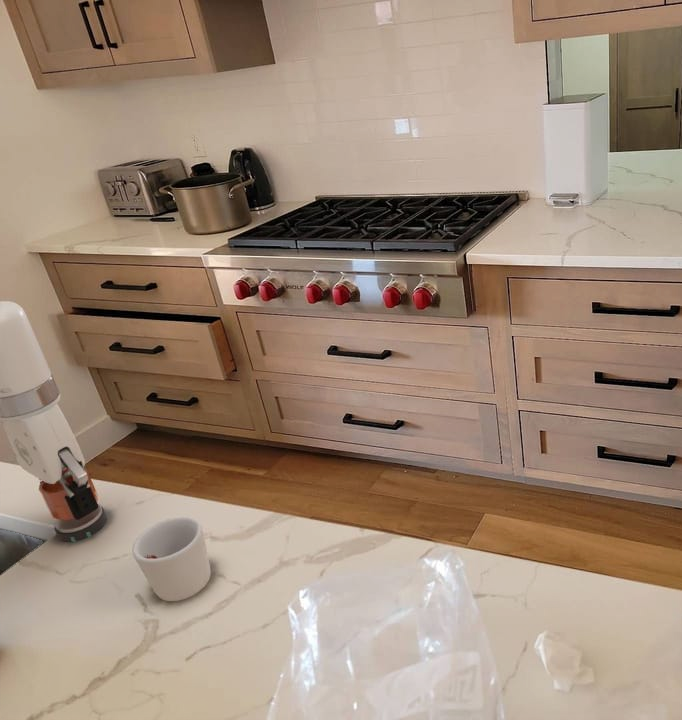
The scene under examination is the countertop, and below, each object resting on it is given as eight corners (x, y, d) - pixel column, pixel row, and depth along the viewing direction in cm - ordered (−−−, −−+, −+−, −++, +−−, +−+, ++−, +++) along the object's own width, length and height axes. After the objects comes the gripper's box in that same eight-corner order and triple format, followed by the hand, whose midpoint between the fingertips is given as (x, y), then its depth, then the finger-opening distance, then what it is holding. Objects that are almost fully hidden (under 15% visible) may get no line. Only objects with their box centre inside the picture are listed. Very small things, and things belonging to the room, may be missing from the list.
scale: (58, 552, 94) (50, 536, 93) (61, 526, 99) (54, 511, 98) (108, 536, 96) (101, 520, 95) (109, 511, 102) (103, 496, 100)
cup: (152, 563, 90) (133, 516, 87) (214, 543, 93) (198, 496, 89) (151, 620, 81) (130, 570, 78) (220, 596, 84) (203, 546, 80)
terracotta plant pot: (50, 527, 93) (36, 498, 90) (54, 504, 98) (41, 475, 95) (98, 512, 95) (86, 483, 93) (100, 489, 100) (88, 461, 97)
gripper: (-35, 395, 90) (19, 503, 98) (25, 426, 81) (79, 542, 89) (23, 370, 95) (70, 475, 103) (86, 397, 86) (132, 509, 94)
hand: (74, 505), depth 96 cm, fingers closed on terracotta plant pot, 6 cm apart
